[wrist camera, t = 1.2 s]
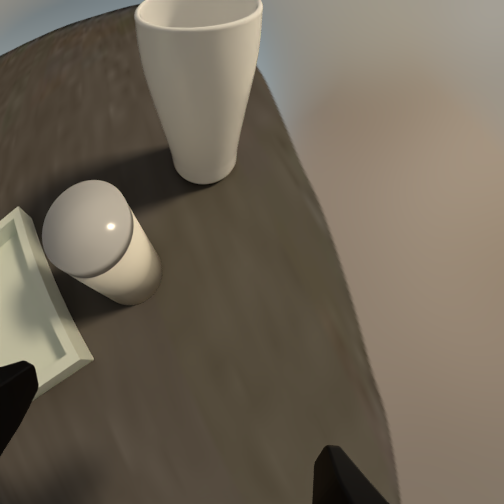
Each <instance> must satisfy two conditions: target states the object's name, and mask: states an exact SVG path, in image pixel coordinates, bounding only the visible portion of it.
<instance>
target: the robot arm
mask: <svg viewBox="0 0 504 504" xmlns="http://www.w3.org/2000/svg"><path fill="white" fill-rule="evenodd" d="M38 387H39V383H38V379H37V374H36V369H35V367H34V365H33V364H31V363H29V362H27V361H24V360H23V361H19V362H16V363H12V364H9V365H6V366H2V367H0V456H1V454H2V453H3V451H4V449H5V448H6V446H7V445H8V443H9V441H10V440H11V438H12V437H13V435H14V433H15V432H16V430H17V429H18V427H19V425H20V424H21V422H22V420H23V418H24V416H25V414H26V412H27V410H28V408H29V406H30V404H31V402H32V400H33V398H34V397H35V395H36V393H37V391H38ZM312 504H389V503H388V502H387V500H386V499H385V498H384V497H383V496H382V495H381V494H380V493H379V491H378V490H377V489H376V488H375V487H374V486H373V485H372V483H371V482H370V481H369V480H368V479H367V478H366V477H365V475H364V474H363V473H362V472H361V471H360V470H359V468H358V467H357V466H356V465H355V464H354V463H353V461H352V460H351V459H350V458H349V457H348V456H347V454H346V453H345V452H344V451H343V450H342V448H341V447H339V446H333V445H327V446H325V447H324V448H323V450H322V451H321V453H320V455H319V456H318V458H317V459H316V461H315V464H314V480H313V501H312Z"/></svg>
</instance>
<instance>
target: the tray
mask: <svg viewBox="0 0 504 504" xmlns="http://www.w3.org/2000/svg"><path fill="white" fill-rule="evenodd" d="M23 360H24V361H27V362H29V363H31V364H33V365H34V367H35V369H36V374H37V379H38V383H39V387H38V391H37V393H36V395H35V397H34V398H33V400H35V399H36V398H38V397H39V396H41V395H42V394H44V393H45V392H47V391H48V390H50V389H51V388H53V387H54V386H56V385H57V384H59V383H60V382H62V381H63V380H65V379H66V378H68V377H69V376H71V375H72V374H74V373H75V372H77V371H78V370H80V369H81V368H83V367H84V366H86V365H87V364H89V363H90V362H92V361H93V360H94V358H93V356H92V355H91V353H90V351H89V349H88V347H87V346H86V344H85V342H84V340H83V338H82V336H81V334H80V333H79V331H78V329H77V327H76V325H75V323H74V321H73V319H72V317H71V315H70V313H69V311H68V308H67V306H66V304H65V302H64V300H63V298H62V295H61V293H60V291H59V289H58V286H57V284H56V282H55V279H54V277H53V275H52V272H51V270H50V267H49V265H48V262H47V260H46V257H45V255H44V252H43V249H42V247H41V244H40V241H39V238H38V235H37V232H36V229H35V226H34V223H33V220H32V218H31V217H30V216H29V215H28V214H26V213H25V212H24V211H23V210H22V209H21V208H20V207H19V206H18V207H17V208H15V209H14V210H13V211H12V212H11V213H9V214H8V215H7V216H6V217H5V218H3V219H2V220H1V221H0V367H2V366H6V365H9V364H12V363H16V362H19V361H23ZM33 400H32V401H33Z"/></svg>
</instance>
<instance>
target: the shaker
mask: <svg viewBox="0 0 504 504" xmlns="http://www.w3.org/2000/svg"><path fill="white" fill-rule="evenodd" d="M42 242H43V247H44V251H45V253H46V255H47V257H48V258H49V260H50V261H51V262H52V263H53V264H54V265H55V266H56V267H57V268H59V269H60V270H62V271H64V272H65V273H67V274H69V275H70V276H72V277H73V278H75V279H77V280H78V281H80V282H82V283H83V284H85V285H87V286H89V287H90V288H92V289H94V290H95V291H97V292H99V293H101V294H102V295H104V296H106V297H108V298H110V299H111V300H113V301H115V302H117V303H119V304H122V305H137V304H140V303H142V302H144V301H146V300H148V299H149V298H150V297H151V296H152V295H153V294H154V293H155V292H156V290H157V289H158V287H159V285H160V282H161V279H162V264H161V261H160V258H159V256H158V254H157V253H156V251H155V249H154V248H153V246H152V244H151V243H150V241H149V239H148V238H147V236H146V234H145V233H144V231H143V229H142V228H141V226H140V224H139V223H138V221H137V219H136V217H135V216H134V214H133V212H132V210H131V209H130V207H129V205H128V203H127V202H126V200H125V198H124V196H123V195H122V193H121V192H120V191H119V190H118V189H117V188H116V187H115V186H113V185H112V184H110V183H107V182H105V181H100V180H89V181H84V182H80V183H78V184H75V185H73V186H72V187H70V188H68V189H67V190H66V191H64V192H63V193H62V194H61V195H60V196H59V197H58V198H57V199H56V200H55V201H54V203H53V204H52V206H51V207H50V209H49V211H48V213H47V215H46V217H45V220H44V224H43V229H42Z"/></svg>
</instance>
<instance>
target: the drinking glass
mask: <svg viewBox="0 0 504 504" xmlns="http://www.w3.org/2000/svg"><path fill="white" fill-rule="evenodd" d="M262 11H263V5H262V2H261V0H145V1H143V2H142V3H141V4H140V5H139V6H138V7H137V9H136V11H135V15H134V18H135V27H136V36H137V43H138V49H139V55H140V60H141V64H142V68H143V72H144V76H145V79H146V82H147V85H148V88H149V91H150V94H151V97H152V100H153V103H154V106H155V109H156V111H157V114H158V117H159V120H160V123H161V126H162V128H163V131H164V134H165V137H166V140H167V143H168V146H169V148H170V151H171V155H172V159H173V163H174V166H175V169H176V171H177V172H178V173H179V175H180V176H181V177H183V178H184V179H185V180H187V181H189V182H192V183H196V184H211V183H215V182H218V181H220V180H222V179H223V178H225V177H226V176H227V175H228V174H229V173H230V172H231V171H232V169H233V168H234V166H235V163H236V158H237V148H238V143H239V138H240V133H241V128H242V124H243V120H244V115H245V111H246V107H247V102H248V98H249V94H250V90H251V86H252V82H253V78H254V73H255V69H256V64H257V58H258V52H259V45H260V37H261V24H262Z"/></svg>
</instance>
